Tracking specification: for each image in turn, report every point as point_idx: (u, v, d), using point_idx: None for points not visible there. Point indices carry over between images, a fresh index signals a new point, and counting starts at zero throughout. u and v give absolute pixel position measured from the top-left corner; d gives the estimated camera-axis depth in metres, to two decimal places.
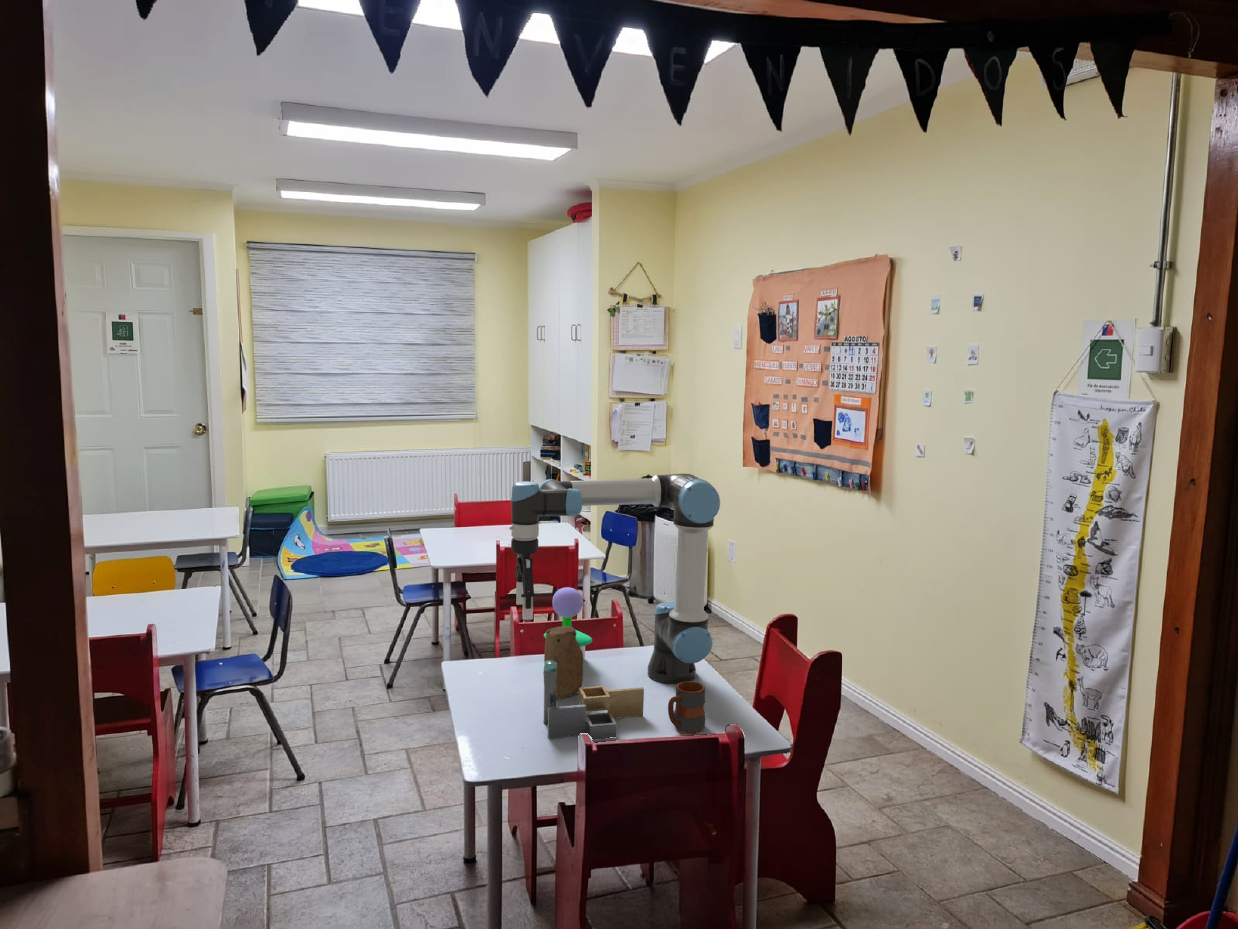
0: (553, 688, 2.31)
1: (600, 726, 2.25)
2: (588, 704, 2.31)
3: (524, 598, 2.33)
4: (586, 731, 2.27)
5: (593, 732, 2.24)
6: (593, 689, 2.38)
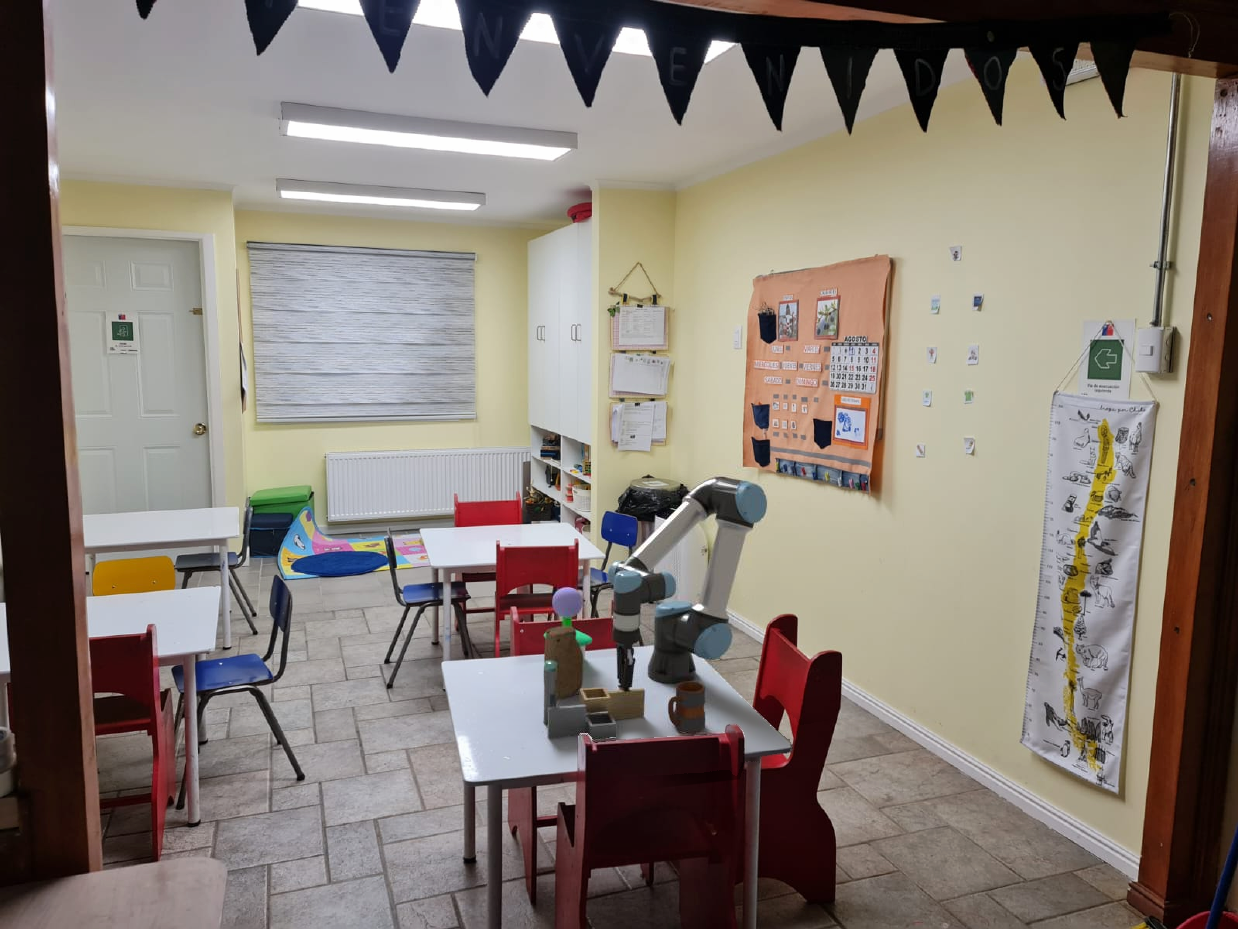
0: (553, 688, 2.31)
1: (600, 726, 2.25)
2: (589, 705, 2.31)
3: (621, 688, 2.39)
4: (586, 731, 2.27)
5: (593, 732, 2.24)
6: (594, 690, 2.37)
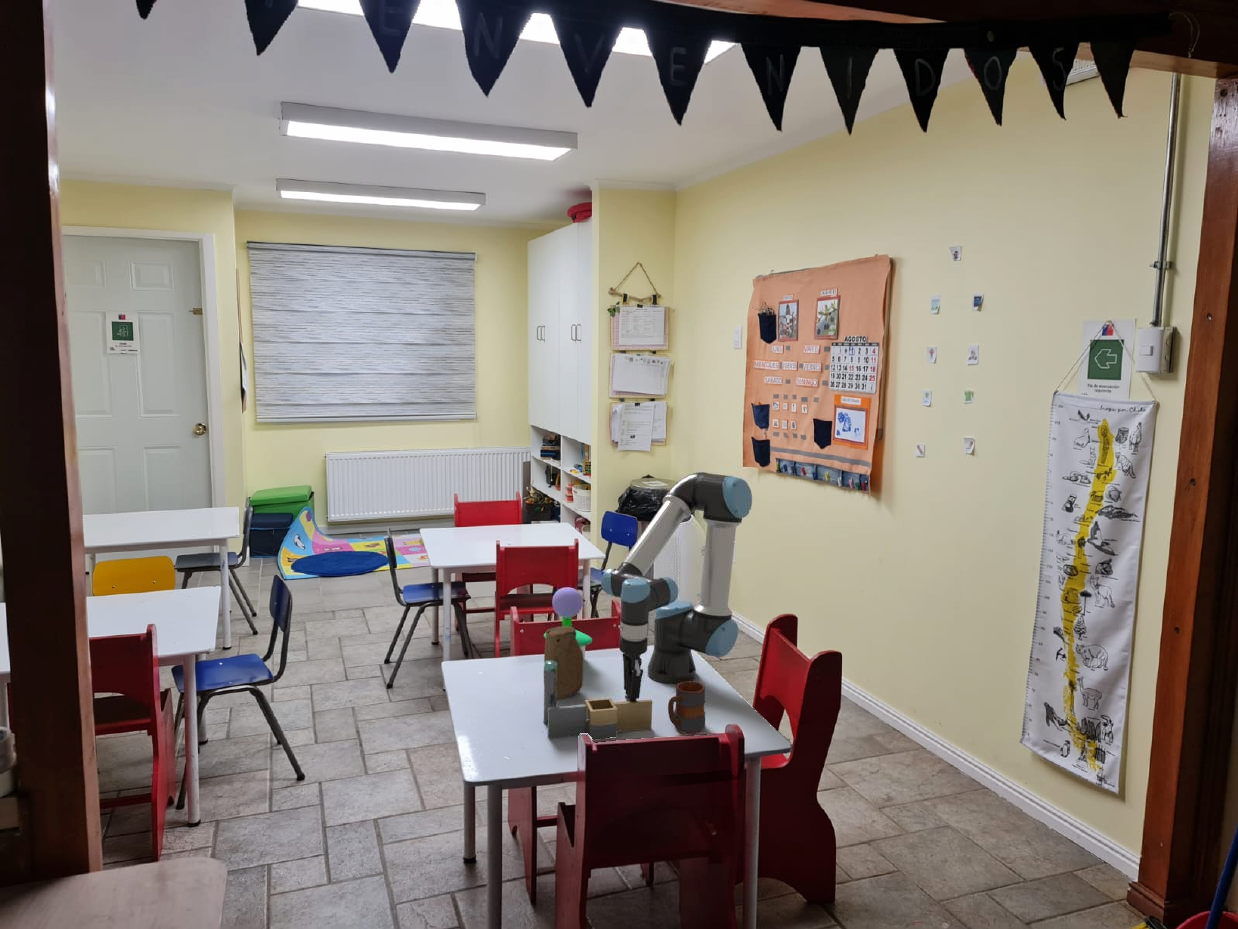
0: (553, 688, 2.31)
1: (600, 726, 2.25)
2: (595, 717, 2.24)
3: (628, 699, 2.32)
4: (586, 731, 2.27)
5: (593, 732, 2.24)
6: (599, 701, 2.30)
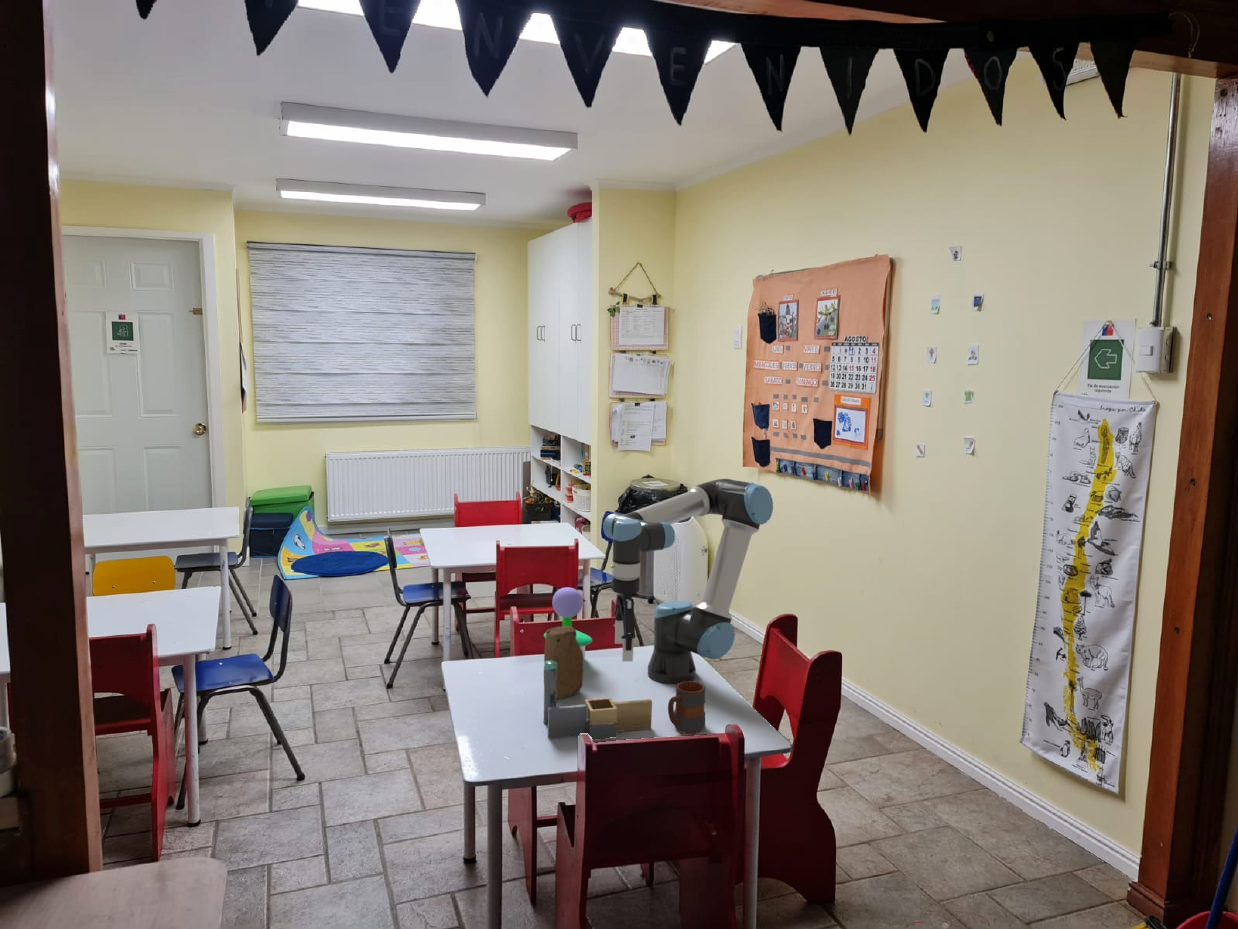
0: (553, 688, 2.31)
1: (600, 726, 2.25)
2: (595, 717, 2.24)
3: (624, 639, 2.27)
4: (586, 731, 2.27)
5: (593, 732, 2.24)
6: (599, 701, 2.30)
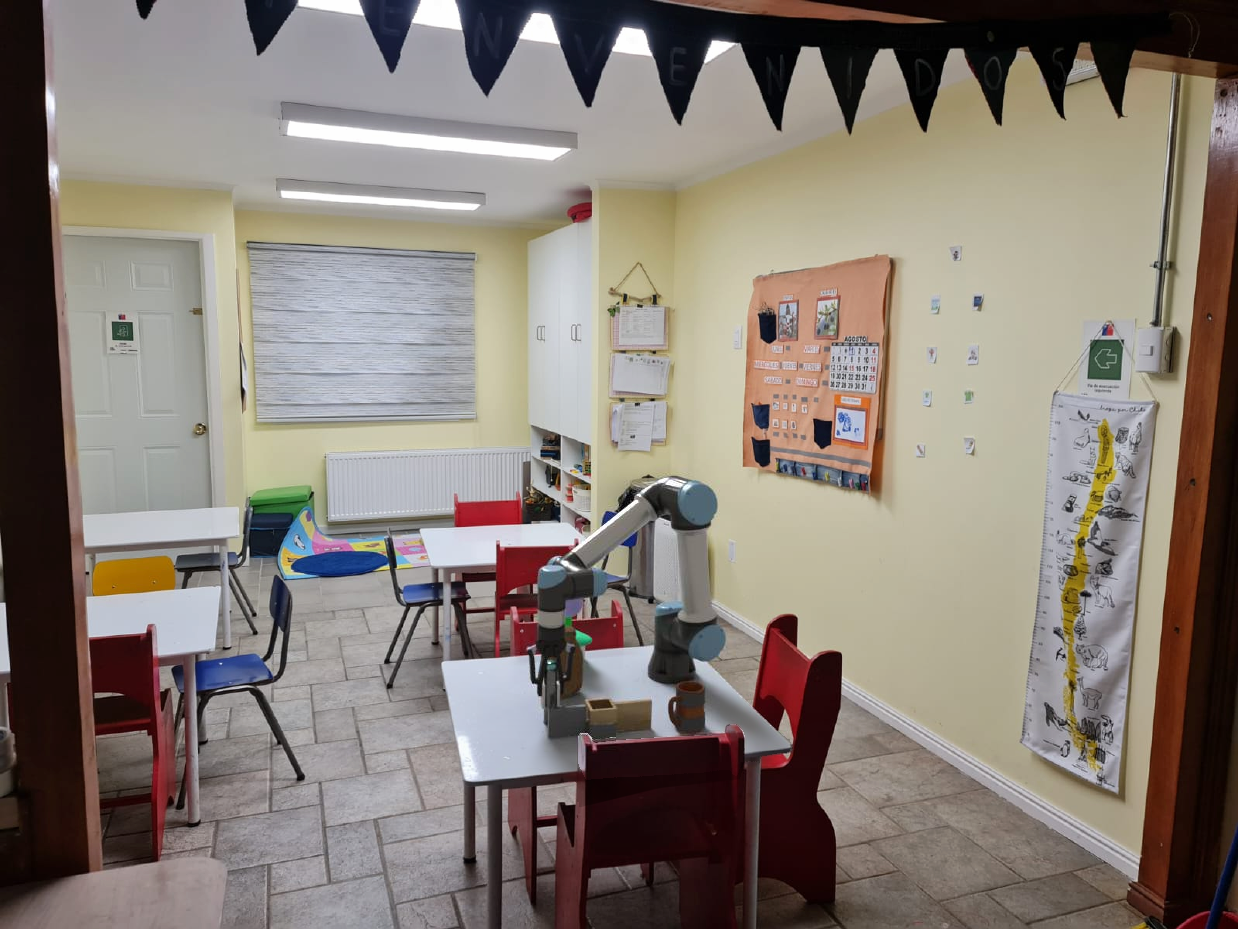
0: (553, 687, 2.31)
1: (600, 726, 2.25)
2: (595, 717, 2.24)
3: None
4: (586, 731, 2.27)
5: (593, 732, 2.24)
6: (599, 701, 2.30)
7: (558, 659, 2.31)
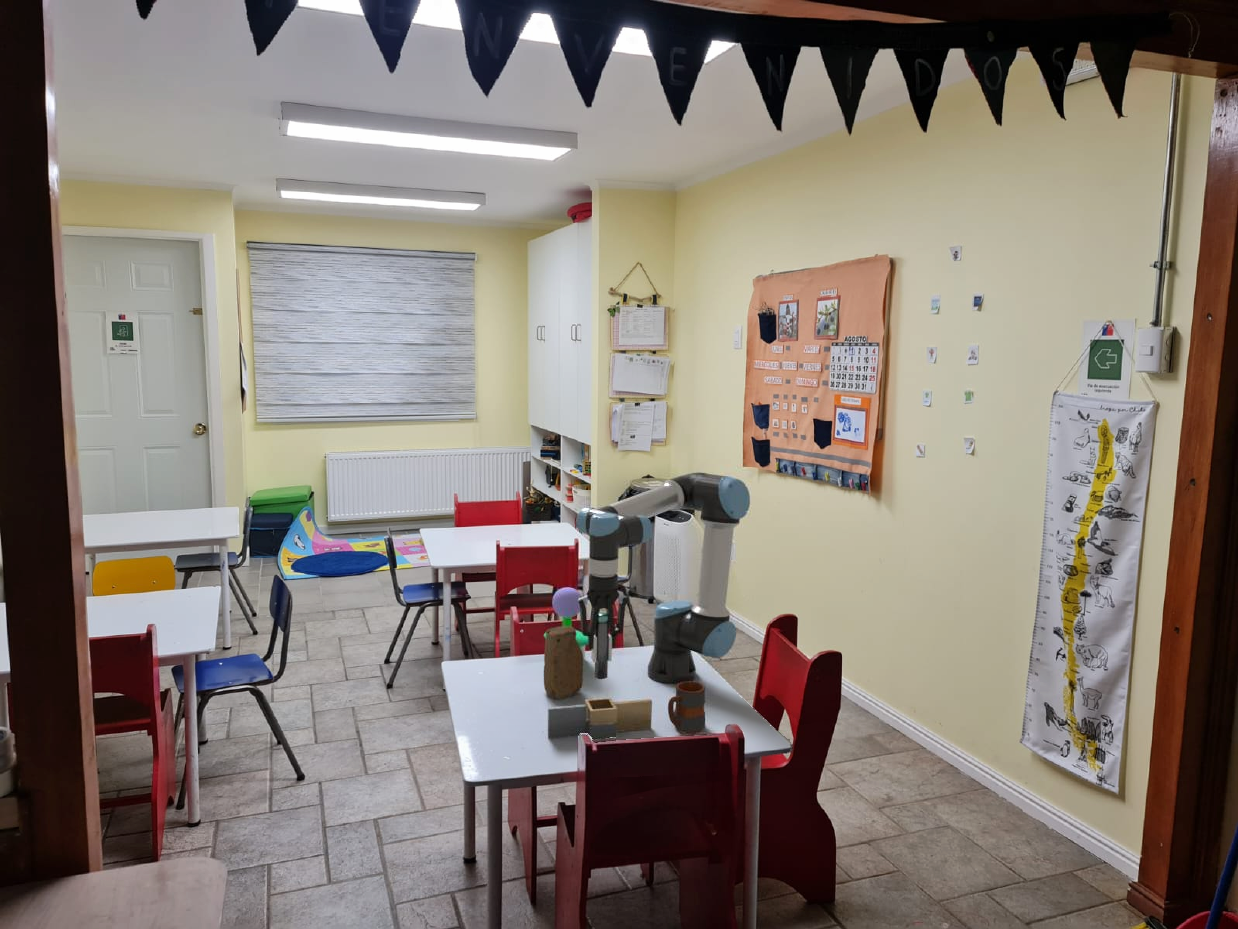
0: (605, 640, 2.23)
1: (600, 726, 2.25)
2: (595, 717, 2.24)
3: None
4: (586, 731, 2.27)
5: (593, 732, 2.24)
6: (599, 701, 2.30)
7: (610, 610, 2.23)
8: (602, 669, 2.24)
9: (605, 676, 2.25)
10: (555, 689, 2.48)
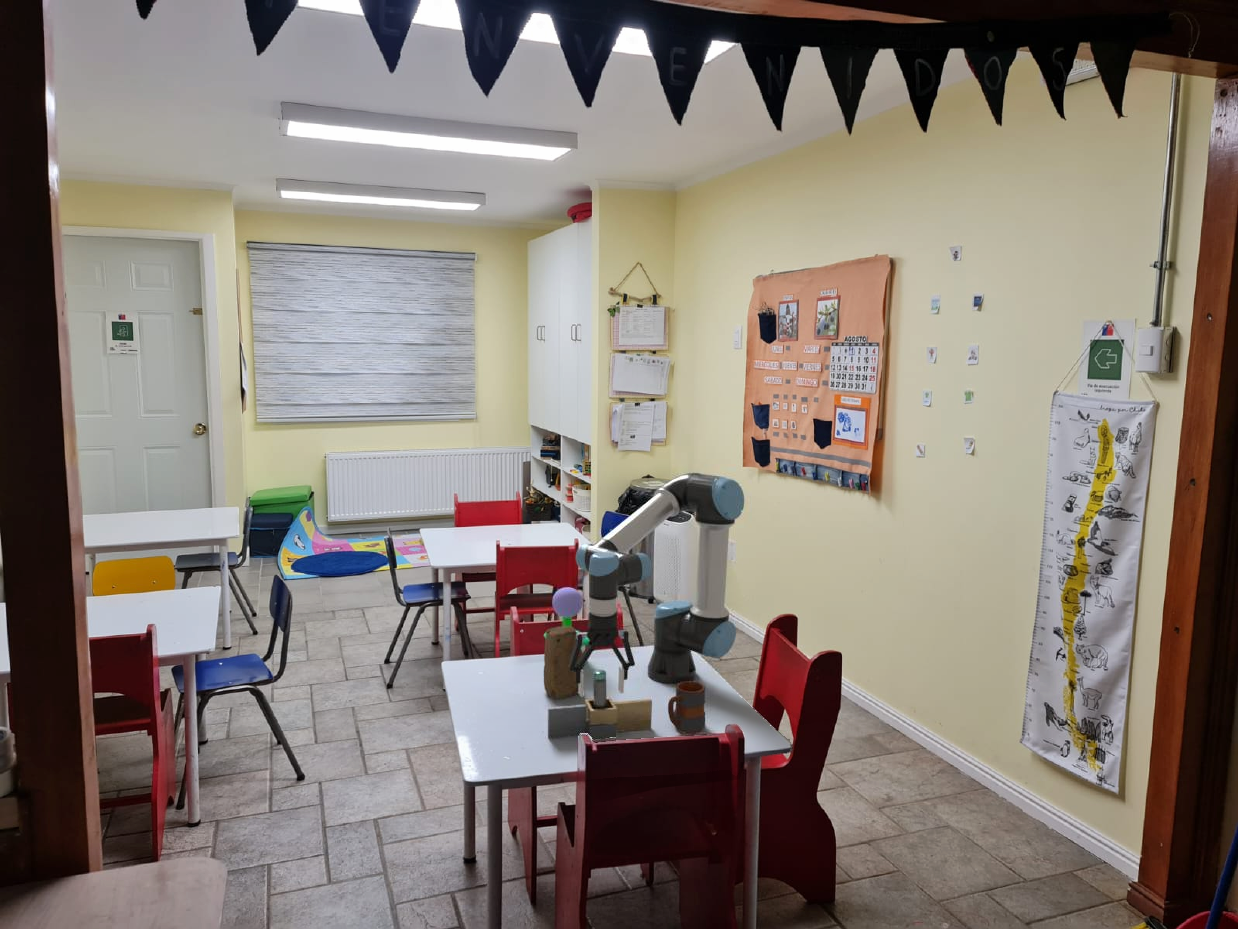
0: (603, 698, 2.26)
1: (600, 726, 2.25)
2: (595, 717, 2.24)
3: None
4: (586, 731, 2.27)
5: (593, 732, 2.24)
6: None
7: (614, 647, 2.24)
8: None
9: None
10: (555, 689, 2.48)
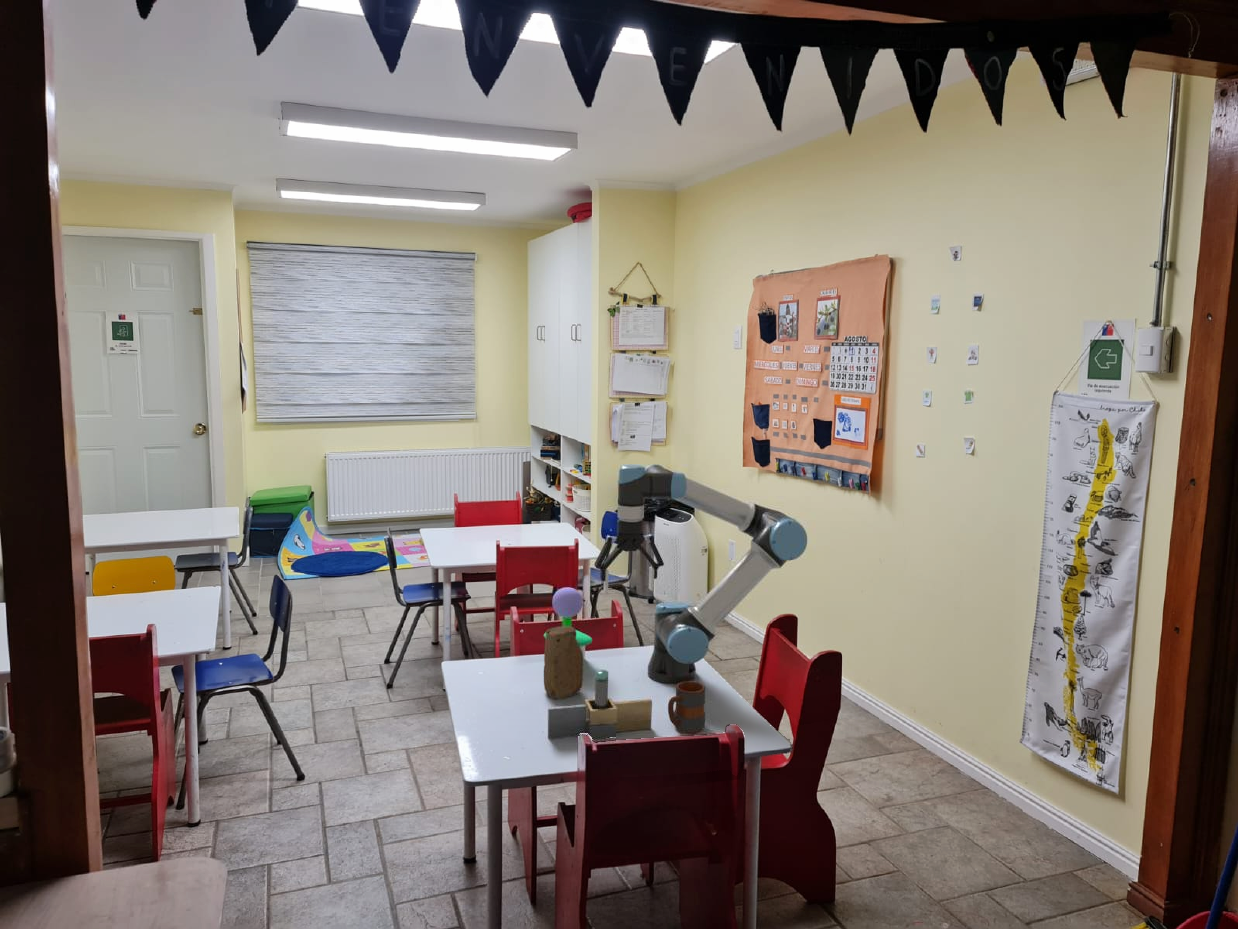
0: (604, 698, 2.26)
1: (600, 726, 2.25)
2: (595, 717, 2.24)
3: None
4: (586, 731, 2.27)
5: (593, 732, 2.24)
6: None
7: (642, 550, 2.47)
8: None
9: None
10: (555, 689, 2.48)
